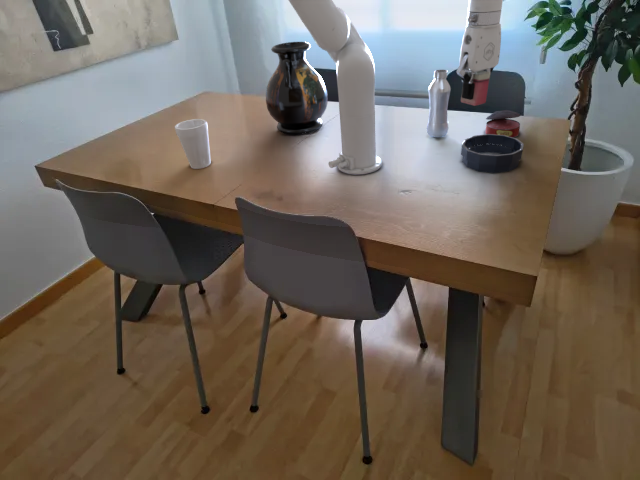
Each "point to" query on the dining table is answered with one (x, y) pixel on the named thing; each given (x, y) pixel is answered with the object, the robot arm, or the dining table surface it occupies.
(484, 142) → the ring
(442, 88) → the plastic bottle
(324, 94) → the amphora vase
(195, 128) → the foam cup
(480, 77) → the small box
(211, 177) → the dining table surface
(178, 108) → the dining table surface
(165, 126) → the dining table surface
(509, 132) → the canned food
